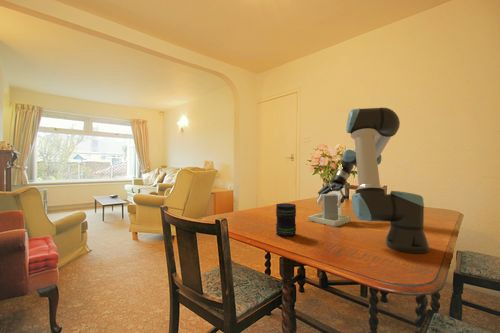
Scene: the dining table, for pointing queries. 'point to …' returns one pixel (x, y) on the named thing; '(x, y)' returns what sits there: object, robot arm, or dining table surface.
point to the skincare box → (330, 206)
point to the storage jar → (286, 220)
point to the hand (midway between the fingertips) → (327, 205)
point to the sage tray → (335, 223)
